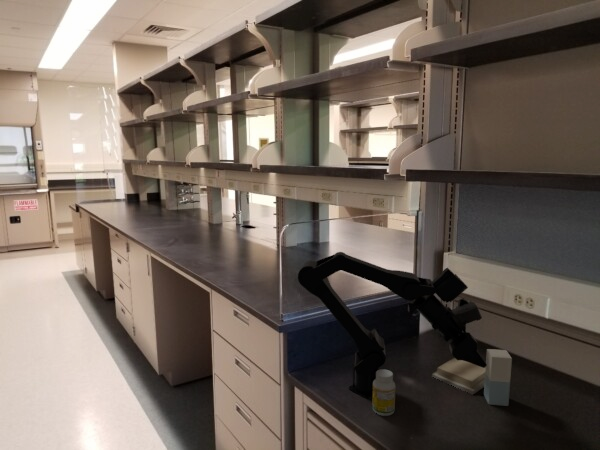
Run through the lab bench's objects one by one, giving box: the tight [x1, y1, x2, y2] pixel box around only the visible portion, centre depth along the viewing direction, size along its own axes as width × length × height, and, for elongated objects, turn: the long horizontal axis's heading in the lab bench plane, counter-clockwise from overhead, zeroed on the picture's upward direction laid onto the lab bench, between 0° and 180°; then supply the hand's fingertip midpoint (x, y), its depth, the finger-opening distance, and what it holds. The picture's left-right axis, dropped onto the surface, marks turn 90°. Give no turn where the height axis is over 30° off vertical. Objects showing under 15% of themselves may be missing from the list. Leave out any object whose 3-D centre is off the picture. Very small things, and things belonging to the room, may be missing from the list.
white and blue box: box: [483, 348, 513, 407], centre depth 108 cm, size 5×5×12 cm
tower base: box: [431, 357, 486, 396], centre depth 119 cm, size 12×12×3 cm
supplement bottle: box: [371, 368, 396, 417], centre depth 104 cm, size 5×5×10 cm
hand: (480, 357), depth 108 cm, fingers open, 9 cm apart
